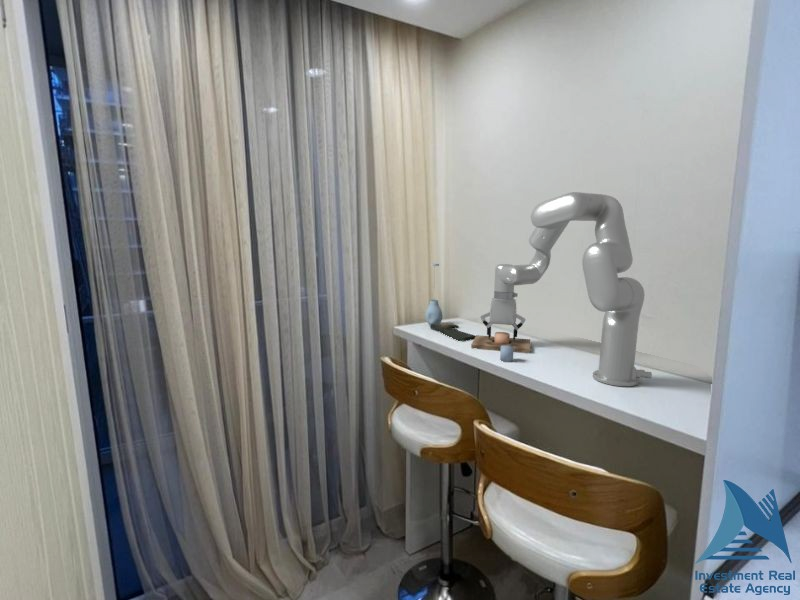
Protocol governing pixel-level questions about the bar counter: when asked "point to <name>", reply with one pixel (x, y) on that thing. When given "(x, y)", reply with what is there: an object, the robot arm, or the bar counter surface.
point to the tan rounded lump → (502, 338)
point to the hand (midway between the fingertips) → (501, 337)
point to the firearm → (452, 332)
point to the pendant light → (434, 309)
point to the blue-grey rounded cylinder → (506, 353)
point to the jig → (489, 344)
